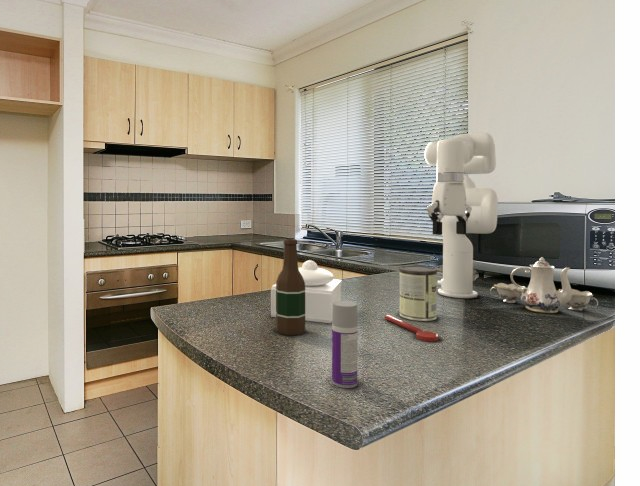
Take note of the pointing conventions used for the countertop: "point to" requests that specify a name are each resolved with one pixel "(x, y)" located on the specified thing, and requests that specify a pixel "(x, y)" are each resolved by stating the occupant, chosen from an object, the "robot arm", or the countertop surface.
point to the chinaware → (544, 290)
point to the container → (344, 344)
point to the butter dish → (315, 293)
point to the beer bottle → (290, 293)
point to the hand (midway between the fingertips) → (449, 234)
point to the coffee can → (418, 293)
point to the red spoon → (414, 329)
